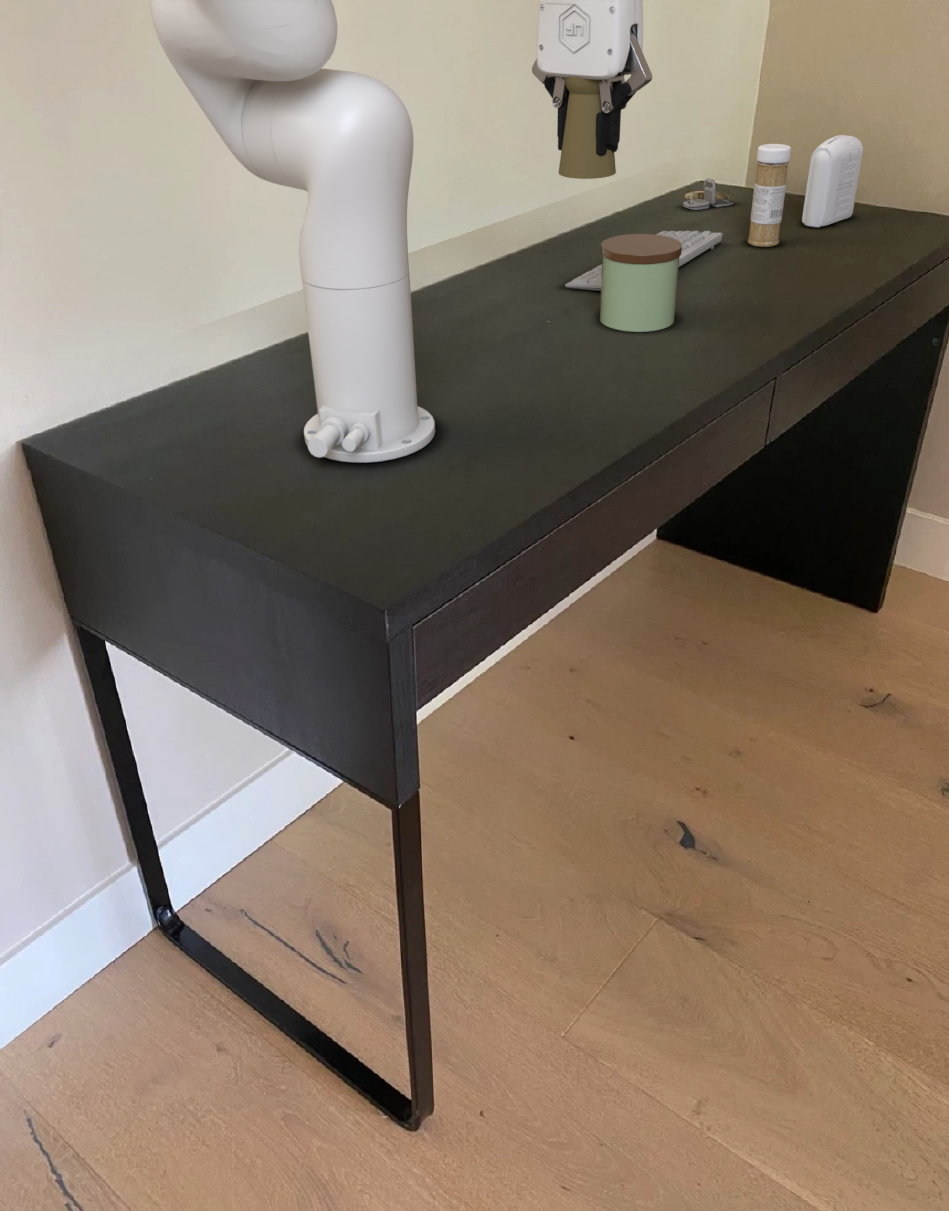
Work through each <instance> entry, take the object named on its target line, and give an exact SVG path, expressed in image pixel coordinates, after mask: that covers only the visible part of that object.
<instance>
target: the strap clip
mask: <svg viewBox="0 0 949 1211" xmlns="http://www.w3.org/2000/svg"><path fill="white" fill-rule="evenodd" d="M708 183H710V184H712V186H709V185H708ZM716 186H717V185H716V181H715V179H712V178H705V179H704V182H703V199H702V198H696V199H688V200H685V201H683V202H682V207H683V208H685V209H688V210H692V211H700V210H706V209H709V208H710V206H712V207H715V208H722V207H729V206H732V205H733V204H734V203H735V202H734V200H730V199H728V198H717V187H716Z"/></svg>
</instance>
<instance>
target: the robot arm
mask: <svg viewBox="0 0 949 1211" xmlns="http://www.w3.org/2000/svg"><path fill="white" fill-rule="evenodd" d="M643 2H644V1H643V0H539V6H538V16H537V32H536V33H537V34H536V59H535V61H534V62H533V64H532V67H531V73H532V75H533V76H534V77H535V78H536V79H538V81H539V82H540V83H541V84H542V85H544V89H545V90H546V92H547V93H548V94H549V96H550V97H551V99H552V100H551V102H552V106H553V107H554V108H555V109H557V126H556V128H557V129H556V131H557V132H556V134H557V135H556V136H557V149H558V151H562V144H563V137H564V130H565V122H566V114H567V107H568V99H569V90H568V89H567V87H566V84H565V80H564V77H579V78H582V79H595V80H600V83H599V89H600V98H601V107H602V112H599V113H597V116H596V154H597V155H600V156H603V155H606V153H607V149H608V150H611V151H612V153H613V152H614V153H616V152H617V151H618V149H619V143H620V140H621V119H622V110H625V109H626V107H627V106H628V103H629V102H630V100H631V99H632V98H633V97H634V96H635V95H636V93H637V92H638V91H640V90H641V89H643V88H644V87H645V86H647V85H648V84H649V83H651V82H652V80H653V73H652V71H651V69H650V66H649V64H648V61H647V59H646V57H645V55H644V53H643V49H644V48H643V45H644V3H643ZM149 6H150V15H151V18H152V23H153V27H154V30H155V33H156V37H157V38H158V41H159V43H160V46H161V48H162V51H163V52H164V54H165V56H166V58H167V59H168V60H169V62H170V64H171V66H172V67H173V69H174V70H175V72H176V73H177V75H178V76H179V78H180V79H181V81H182V82H183V84H184V86H185V87H186V88H187V90H188V91H189V93H190V95H192V97H193V99H194V101H195V102H196V103H197V105H198V107H199V108H200V109H201V111H202V112H203V113H204V115H205V117H206V118H207V119H208V122H210V124H211V125H212V127H213V128H214V130H215V131H216V133H217V134H218V136H219V137H220V139H221V140H222V142H223V143H224V145H225V146H226V147H227V149H228V150H229V151H230V153H231V154H232V155H233V156H234V158H235V159H236V160H237V161H238V163H240V164H241V165H242V166H243V167H244V169H246V171H248V172H250V173H251V174H252V175H254V176H255V177H257V178H259V179H261V180H263V181H266V182H269V183H272V184H275V185H279V186H282V187H288V188H291V189H298V190H300V191H301V190H302V191H305V192H307V193H308V198H307V203H306V208H305V212H304V217H303V220H302V224H301V228H300V232H299V239H298V240H299V241H298V257H299V258H298V259H299V268H300V277H301V283H302V292H303V300H304V309H305V316H306V325H307V334H308V342H309V350H310V351H309V352H310V358H311V359H310V360H311V368H312V375H313V382H314V383H313V384H314V391H315V392H314V393H315V400H316V410H317V413H316V414H314V415H313V416H312V417H311V418H310V419H309V420H308V421H307V422H306V424H305V425H304V426H303V436H304V442H305V443H304V444H305V445H306V446H307V449H308V451H309V453H310V454H311V455H312V456H313V457H315V458H319V459H320V458H326V459H328V460H330V461H337V462H342V463H352V464H363V463H364V464H370V463H380V462H386V461H393V460H397V459H400V458H404V457H407V456H409V455H412V454H414V453H416V452H418V451H420V450H422V449H424V448H425V447H426V446H427V445H429V443H431V441H432V440H433V438H435V434H436V422H435V421H436V420H435V419H434V416H433V415H432V414H431V413H430V412H429V411H427V410H426V409H424V408H423V407H420V406H418V395H417V394H418V392H417V380H416V379H417V378H416V375H417V374H416V360H415V359H416V358H415V343H414V342H415V341H414V329H413V328H414V326H413V325H414V324H413V309H412V292H411V276H410V264H409V263H410V262H409V245H408V244H409V243H408V201H409V200H408V199H409V189H410V182H411V174H412V167H413V159H414V129H413V124H412V121H411V116H410V114H409V111H408V109H407V107H406V105H405V103H404V101H402V99H401V98H400V97H399V95H398V94H397V93H396V92H395V91H394V90H393V89H392V88H391V87H390V86H388V85H387V84H386V83H384V82H383V81H380V80H379V79H377V78H374V77H372V76H370V75H367V74H365V73H364V74H363V73H360V72H355V71H347V70H341V69H340V70H339V69H330V68H324V67H325V66H326V65H327V63H328V62H329V60H330V59H331V58H332V55H333V54H334V51H335V49H336V45H337V38H338V20H337V15H336V11H335V7H334V3H333V1H332V0H149ZM628 75H630V77H629V78H628V79H627V80H625V76H628ZM612 83H614V84H613V86H612Z"/></svg>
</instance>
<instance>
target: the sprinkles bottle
mask: <svg viewBox="0 0 949 1211" xmlns="http://www.w3.org/2000/svg"><path fill="white" fill-rule="evenodd" d="M756 151H757V153H756V161H757V162H756V171H755V178H754V179H755V180H754V186H753V192H752V194H753V195H752V202H751V203H752V204H751V211H750V224H749V233H748V238H747V243H748V244H749V245H751V246H752V247H758V248H772V247H775V246H777V245H778V244H779V243H780V240H779V239H780V238H779V237H780V230H781V223H782V219H783V211H784V205H785V204H784V203H785V196H786V190H787V189H786V188H787V177H788V176H787V175H788V166H789V162H790V160H791V154H792V147H791V146H790V145H788V144H783V143H766V144H761V145H759V146H758V147H757V150H756Z"/></svg>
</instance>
